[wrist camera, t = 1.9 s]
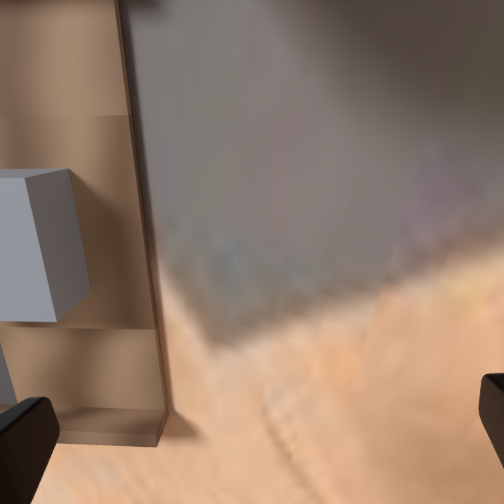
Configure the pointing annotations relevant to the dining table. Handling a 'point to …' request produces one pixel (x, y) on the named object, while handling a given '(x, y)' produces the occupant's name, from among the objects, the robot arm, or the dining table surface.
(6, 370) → the charcoal strips
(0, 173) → the slate block
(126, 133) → the walnut box
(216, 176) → the dining table surface
